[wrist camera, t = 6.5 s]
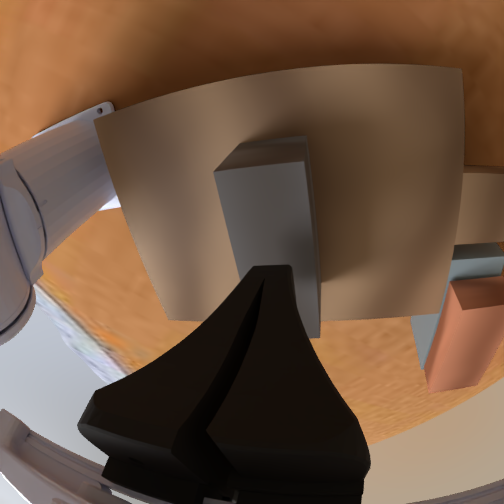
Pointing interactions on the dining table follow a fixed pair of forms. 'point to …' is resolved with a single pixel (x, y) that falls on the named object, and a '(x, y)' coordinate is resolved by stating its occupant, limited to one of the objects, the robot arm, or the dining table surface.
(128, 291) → the dining table surface
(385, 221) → the lid
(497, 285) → the salmon pink block
